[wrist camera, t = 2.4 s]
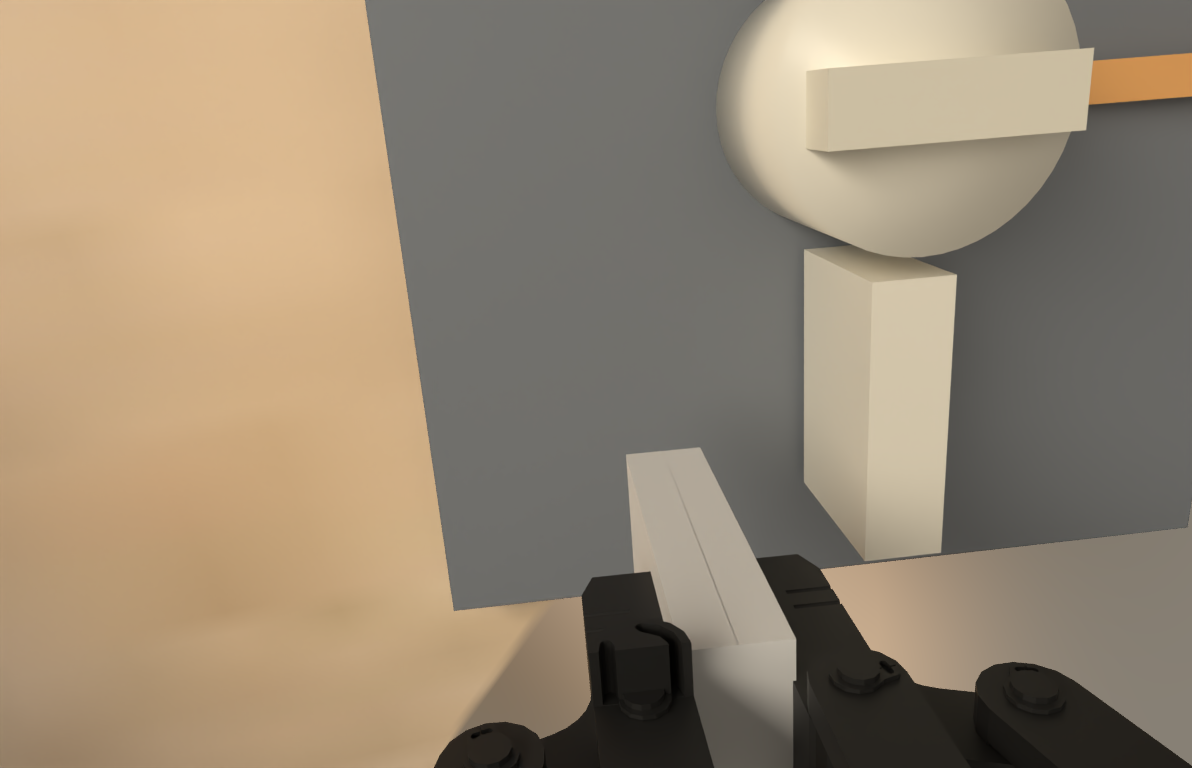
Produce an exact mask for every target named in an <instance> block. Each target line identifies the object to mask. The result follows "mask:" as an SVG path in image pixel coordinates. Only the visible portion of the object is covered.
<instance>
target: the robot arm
mask: <svg viewBox="0 0 1192 768" xmlns="http://www.w3.org/2000/svg"><path fill="white" fill-rule="evenodd" d="M626 461H627V476H628V490H629V505H630V519H631V534H632V548H633V562H634V573H630V574H620V575H611V576H601V577H592V579H591V580H590V582H589V584H588V585H587V587H586V589H585V590H584V592H583V594H582V605H583V616H584V626H585V636H586V637H585V638H586V648H587V659H588V670H589V680H590V690H591V701H590V703H589V705H588V707H587V710H586V711H585V712H584V713H583V715H582V716H581V717H580V718H579V719H578V720H577V721H576V722H574V723H573V724H571V725H570V726H569V727H568V728H566V729H564V730H561V731H559V732H557V733H555V734H553V735H550V736H547V737H545V738H542V739H539V737H538V735H537V734H536V733H534V732H532V731H531V730H529V729H528V728H526V727H525V726H522V725H518V724H513V723H508V722H499V723H487V724H483V725H480V726H477V727H474V728H472V729H469V730H467V731H465V732H463V733H462V734H460V735H459V736H457V737H456V738H455V739H453V740H452V741H450V742H449V744H448V745H447V747H446V748H445V749H444V751H443V752H442V753H441V755H440V756H439V758H438V760H437V763H436V765H435V767H434V768H1192V766H1191V765H1190V764H1189V763H1187V762H1186V761H1184V760H1183V759H1182V758H1180V757H1179V756H1177V755H1176V754H1175V753H1173V752H1172V751H1171V750H1169V749H1168V748H1166V747H1165V746H1164V745H1162V744H1161V743H1160V742H1158V741H1157V740H1155V739H1154V738H1153V737H1151V736H1150V735H1149V734H1147V733H1146V732H1144V731H1143V730H1142V729H1140V728H1139V727H1137V726H1136V725H1135V724H1133V723H1132V722H1131V721H1129V720H1128V719H1126V718H1125V717H1124V716H1122V715H1121V714H1119V713H1118V712H1117V711H1115V710H1114V709H1112V708H1111V707H1110V706H1108V705H1107V704H1106V703H1104V702H1103V701H1102V700H1100V699H1099V698H1097V697H1096V696H1095V695H1093V694H1092V693H1091V692H1089V691H1088V690H1086V689H1085V688H1083V687H1082V686H1081V685H1080V684H1078V683H1076V682H1075V681H1074V680H1072V679H1070V678H1068V677H1066V676H1065V675H1063V674H1061V673H1059V672H1057V671H1055V670H1052V669H1048V668H1045V667H1042V666H1038V665H1035V664H1027V663H1016V662H1010V663H1003V664H996V665H993V666H991V667H989V668H988V669H986V670H984V671H982V672H981V674H980V676H979V678H978V679H977V681H976V686H975V692H967V691H957V690H948V689H939V688H933V687H928V686H922V685H919V684H916V683H914V681H913V680H912V678H911V677H910V675H909V674H908V673H907V671H906V670H905V669H904V668H903V667H902V666H901V665H900V664H899V663H898V662H897V661H896V660H893V659H891V658H890V657H888V656H886V655H884V654H882V653H880V652H877V651H872V650H870V648H869V646H868V645H867V643H866V642H865V640H864V639H863V637H862V635H861V634H860V632H859V630H858V629H857V627H856V626H855V624H854V623H853V621H852V620H851V618H850V616H849V615H848V613H847V611H846V610H845V608H844V607H843V605H842V604H840V601H839V599H838V598H837V596H836V594H835V592H834V591H833V590H832V589H831V588H830V585H829V583H828V581H827V580H826V578H825V577H824V575H823V573H822V572H821V570H820V569H819V568H818V567H817V566H815V565H814V564H812V563H811V562H809V561H808V560H806V559H805V558H803V557H802V556H800V555H798V554H792V555H782V556H772V557H763V558H755V556H754V554H753V552H752V550H751V548H750V546H749V544H748V542H747V540H746V538H745V536H744V534H743V532H742V530H741V528H740V526H739V524H738V522H737V520H736V518H735V516H734V514H733V512H732V510H731V508H730V506H729V504H728V502H727V500H726V498H725V496H724V494H723V492H722V490H721V488H720V486H719V484H718V482H717V480H716V478H715V476H714V474H713V472H712V470H711V468H710V466H709V464H708V462H707V460H706V458H705V456H704V454H703V452H702V450H701V448H700V447H698V448H688V449H677V450H667V451H657V452H647V453H636V454H626Z"/></svg>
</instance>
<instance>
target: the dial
mask: <svg viewBox="0 0 1192 768" xmlns="http://www.w3.org/2000/svg"><path fill="white" fill-rule="evenodd" d="M1093 55H1094V48H1084V49H1080V48H1079V42H1078V37H1077V33H1076V28H1075V24H1074V21H1073V18H1072V16H1071V13H1070V10H1069V7H1068V5H1067V3H1066V1H1065V0H765V1H763V2H762V3H761V4H760V5H759V6H758V7H757V8H756V9H755V11H754V12H753V13H752V14H751V15H750V16H749V17H748V19H747V20H746V21H745V23H744V24H743V25H742V27H741V28H740V30H739V31H738V33H737V35H736V37H735V38H734V40H733V42H732V44H731V46H730V48H729V50H728V53H727V55H726V58H725V60H724V63H723V67H722V70H721V74H720V77H719V83H718V90H717V101H716V116H717V127H718V133H719V137H720V142H721V146H722V148H723V151H724V154H725V157H726V159H727V161H728V163H729V165H730V167H731V169H732V171H733V173H734V175H735V176H736V177H737V179H738V180H739V182H740V183H741V185H742V186H743V187H744V188H745V189H746V190H747V191H748V192H749V194H750V195H751V196H752V197H753V198H754V199H756V200H757V201H758V202H759V203H761V204H762V205H763V206H764V207H766V208H768V209H769V210H771V211H773V212H774V213H776V214H778V215H780V216H783V217H785V218H787V219H790V220H792V221H795V222H797V223H800V224H802V225H805V226H807V227H810V228H812V229H814V230H817V231H819V232H822V233H824V234H827V235H829V236H832V237H834V238H837V239H839V240H842V241H844V242H847V243H849V244H852V245H847V246H836V247H825V248H814V249H804V483H805V484H806V486H807V487H808V488H809V489H810V491H811V492H812V493H813V495H814V496H815V497H816V499H817V500H818V501H819V502H820V504H821V505H822V506H823V508H824V509H825V510H826V511H827V513H828V514H829V515H830V517H831V518H832V519H833V521H834V522H835V523H836V524H837V526H838V527H839V528H840V530H841V531H842V532H843V534H844V535H845V536H846V537H847V539H848V540H849V541H850V543H851V544H852V545H853V546H854V548H855V549H856V550H857V552H858V553H859V554H860V556H861V557H862V558H863V559H864V561H873V560H881V559H890V558H899V557H908V556H917V555H925V554H934V553H941V543H942V525H943V508H944V491H945V473H946V456H947V439H948V421H949V404H950V386H951V369H952V352H953V334H954V317H955V300H956V282H957V275H956V274H954V273H951V272H948V271H946V270H943V269H940V268H938V267H935V266H932V265H930V264H927V263H924V262H922V261H919V260H916V259H914V258H911V257H926V256H932V255H938V254H943V253H947V252H950V251H953V250H957V249H960V248H962V247H965V246H967V245H969V244H972V243H974V242H976V241H979V240H980V239H982V238H984V237H985V236H987V235H989V234H991V233H992V232H994V231H996V230H997V229H998V228H1000V227H1001V226H1002V225H1004V224H1005V223H1006V222H1008V221H1009V220H1010V219H1012V218H1013V217H1014V216H1015V215H1016V214H1017V213H1018V212H1019V211H1020V210H1021V209H1022V208H1023V207H1025V206H1026V205H1027V204H1028V203H1029V201H1030V200H1031V199H1032V198H1033V197H1034V195H1035V194H1036V193H1037V192H1038V191H1039V190H1040V188H1041V187H1042V186H1043V184H1044V183H1045V181H1046V180H1047V178H1048V177H1049V175H1050V174H1051V172H1052V171H1053V169H1054V167H1055V166H1056V164H1057V162H1058V160H1059V158H1060V156H1061V154H1062V152H1063V150H1064V148H1065V145H1066V143H1067V140H1068V138H1069V135H1070V133H1071V131H1082V130H1086V126H1087V116H1088V105H1092V104H1104V103H1116V102H1128V101H1141V100H1153V99H1165V98H1177V97H1190V96H1192V53H1185V54H1173V55H1160V56H1147V57H1134V58H1121V59H1109V60H1096V61H1093Z"/></svg>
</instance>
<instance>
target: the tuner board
mask: <svg viewBox="0 0 1192 768" xmlns="http://www.w3.org/2000/svg"><path fill="white" fill-rule="evenodd" d="M763 1H765V0H365V4H366V10H367V17H368V24H369V31H370V38H371V45H372V52H373V58H374V65H375V72H376V79H377V86H378V93H379V100H380V107H381V113H382V120H383V127H384V134H385V141H386V148H387V155H388V161H389V168H390V175H391V182H392V189H393V196H394V203H395V209H396V216H397V223H398V230H399V237H400V244H401V251H402V257H403V264H404V271H405V278H406V285H407V292H408V299H409V306H410V312H411V319H412V326H413V333H414V340H415V347H416V354H417V360H418V367H419V374H420V381H421V388H422V395H423V402H424V408H425V415H426V422H427V429H428V436H429V443H430V450H431V456H432V463H433V470H434V477H435V484H436V491H437V498H438V505H439V511H440V518H441V525H442V532H443V539H444V546H445V553H446V559H447V566H448V573H449V580H450V587H451V594H452V601H453V607H454V611H457V610H466V609H475V608H484V607H492V606H501V605H510V604H519V603H527V602H536V601H545V600H554V599H563V598H571V597H580V596H582V594H583V592H584V590H585V589H586V587H587V585H588V584H589V582H590V580H591V579H592V577H601V576H611V575H620V574H630V573H634V562H633V548H632V534H631V519H630V505H629V490H628V476H627V461H626V454H636V453H647V452H657V451H667V450H677V449H688V448H698V447H700V448H701V450H702V452H703V454H704V456H705V458H706V460H707V462H708V464H709V466H710V468H711V470H712V472H713V474H714V476H715V478H716V480H717V482H718V484H719V486H720V488H721V490H722V492H723V494H724V496H725V498H726V500H727V502H728V504H729V506H730V508H731V510H732V512H733V514H734V516H735V518H736V520H737V522H738V524H739V526H740V528H741V530H742V532H743V534H744V536H745V538H746V540H747V542H748V544H749V546H750V548H751V550H752V552H753V554H754V556H755V558H763V557H772V556H782V555H792V554H798V555H800V556H802V557H803V558H805V559H806V560H808V561H809V562H811V563H812V564H814V565H815V566H817V567H818V568H819V569H825V568H835V567H843V566H852V565H861V564H870V563H878V562H887V561H896V560H905V559H914V558H922V557H931V556H940V555H948V554H957V553H966V552H974V551H983V550H993V549H1001V548H1010V547H1019V546H1028V545H1036V544H1045V543H1054V542H1063V541H1072V540H1080V539H1089V538H1097V537H1107V536H1115V535H1124V534H1133V533H1142V532H1150V531H1159V530H1168V529H1177V528H1186V527H1187V526H1188V520H1189V514H1190V507H1191V501H1192V96H1190V97H1177V98H1165V99H1153V100H1141V101H1128V102H1116V103H1104V104H1092V105H1088V116H1087V126H1086V130H1082V131H1071V133H1070V135H1069V138H1068V140H1067V143H1066V145H1065V148H1064V150H1063V152H1062V154H1061V156H1060V158H1059V160H1058V162H1057V164H1056V166H1055V167H1054V169H1053V171H1052V172H1051V174H1050V175H1049V177H1048V178H1047V180H1046V181H1045V183H1044V184H1043V186H1042V187H1041V188H1040V190H1039V191H1038V192H1037V193H1036V194H1035V195H1034V197H1033V198H1032V199H1031V200H1030V201H1029V203H1028V204H1027V205H1026V206H1025V207H1023V208H1022V209H1021V210H1020V211H1019V212H1018V213H1017V214H1016V215H1015V216H1014V217H1013V218H1012V219H1010V220H1009V221H1008V222H1006V223H1005V224H1004V225H1002V226H1001V227H1000V228H998V229H997V230H996V231H994V232H992V233H991V234H989V235H987V236H985V237H984V238H982V239H980V240H979V241H976V242H974V243H972V244H969V245H967V246H965V247H962V248H960V249H957V250H953V251H950V252H947V253H943V254H938V255H932V256H926V257H911V258H914V259H916V260H919V261H922V262H924V263H927V264H930V265H932V266H935V267H938V268H940V269H943V270H946V271H948V272H951V273H954V274H956V275H957V282H956V300H955V317H954V334H953V352H952V369H951V386H950V404H949V421H948V439H947V456H946V473H945V491H944V508H943V525H942V543H941V553H934V554H925V555H917V556H908V557H899V558H890V559H881V560H873V561H864V559H863V558H862V557H861V556H860V554H859V553H858V552H857V550H856V549H855V548H854V546H853V545H852V544H851V543H850V541H849V540H848V539H847V537H846V536H845V535H844V534H843V532H842V531H841V530H840V528H839V527H838V526H837V524H836V523H835V522H834V521H833V519H832V518H831V517H830V515H829V514H828V513H827V511H826V510H825V509H824V508H823V506H822V505H821V504H820V502H819V501H818V500H817V499H816V497H815V496H814V495H813V493H812V492H811V491H810V489H809V488H808V487H807V486H806V484H805V483H804V249H814V248H825V247H836V246H847V245H852V244H849V243H847V242H844V241H842V240H839V239H837V238H834V237H832V236H829V235H827V234H824V233H822V232H819V231H817V230H814V229H812V228H810V227H807V226H805V225H802V224H800V223H797V222H795V221H792V220H790V219H787V218H785V217H783V216H780V215H778V214H776V213H774V212H773V211H771V210H769V209H768V208H766V207H764V206H763V205H762V204H761V203H759V202H758V201H757V200H756V199H754V198H753V197H752V196H751V195H750V194H749V192H748V191H747V190H746V189H745V188H744V187H743V186H742V185H741V183H740V182H739V180H738V179H737V177H736V176H735V175H734V173H733V171H732V169H731V167H730V165H729V163H728V161H727V159H726V157H725V154H724V151H723V148H722V146H721V142H720V137H719V133H718V127H717V116H716V101H717V90H718V83H719V77H720V74H721V70H722V67H723V63H724V60H725V58H726V55H727V53H728V50H729V48H730V46H731V44H732V42H733V40H734V38H735V37H736V35H737V33H738V31H739V30H740V28H741V27H742V25H743V24H744V23H745V21H746V20H747V19H748V17H749V16H750V15H751V14H752V13H753V12H754V11H755V9H756V8H757V7H758V6H759V5H760V4H761V3H762V2H763ZM1065 1H1066V3H1067V5H1068V7H1069V10H1070V13H1071V16H1072V18H1073V21H1074V24H1075V28H1076V33H1077V37H1078V42H1079V48H1080V49H1084V48H1094V55H1093V61H1096V60H1109V59H1121V58H1134V57H1147V56H1160V55H1173V54H1185V53H1192V0H1065Z"/></svg>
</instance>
